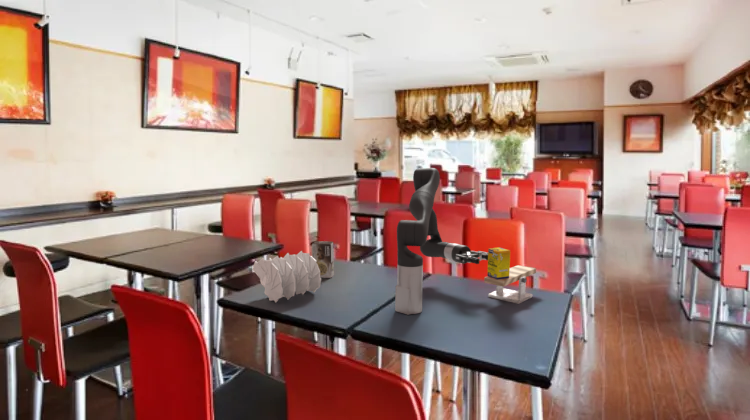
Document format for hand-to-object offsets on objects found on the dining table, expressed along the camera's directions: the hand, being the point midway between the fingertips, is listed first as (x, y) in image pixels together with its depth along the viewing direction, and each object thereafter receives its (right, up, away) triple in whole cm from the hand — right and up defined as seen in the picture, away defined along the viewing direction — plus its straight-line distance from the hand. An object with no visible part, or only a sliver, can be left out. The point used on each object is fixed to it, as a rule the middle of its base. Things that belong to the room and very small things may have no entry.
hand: (486, 260), depth 184 cm
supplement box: (+3, -6, -5) cm, 9 cm away
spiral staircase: (-78, -15, +3) cm, 79 cm away
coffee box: (-68, -12, +35) cm, 78 cm away
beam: (+11, -7, +3) cm, 13 cm away
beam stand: (+11, -15, +4) cm, 19 cm away
